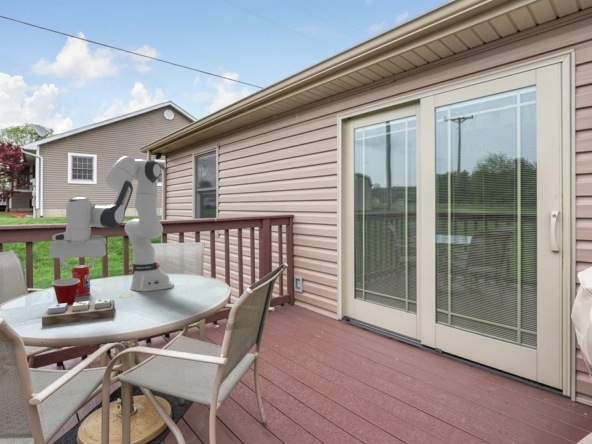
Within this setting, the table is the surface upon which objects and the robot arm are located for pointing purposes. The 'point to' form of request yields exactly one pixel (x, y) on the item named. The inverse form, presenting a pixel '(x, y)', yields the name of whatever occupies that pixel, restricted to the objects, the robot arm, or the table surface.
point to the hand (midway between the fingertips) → (78, 267)
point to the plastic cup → (66, 290)
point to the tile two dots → (103, 303)
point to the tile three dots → (80, 305)
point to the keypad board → (78, 315)
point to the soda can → (82, 279)
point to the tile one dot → (57, 308)
